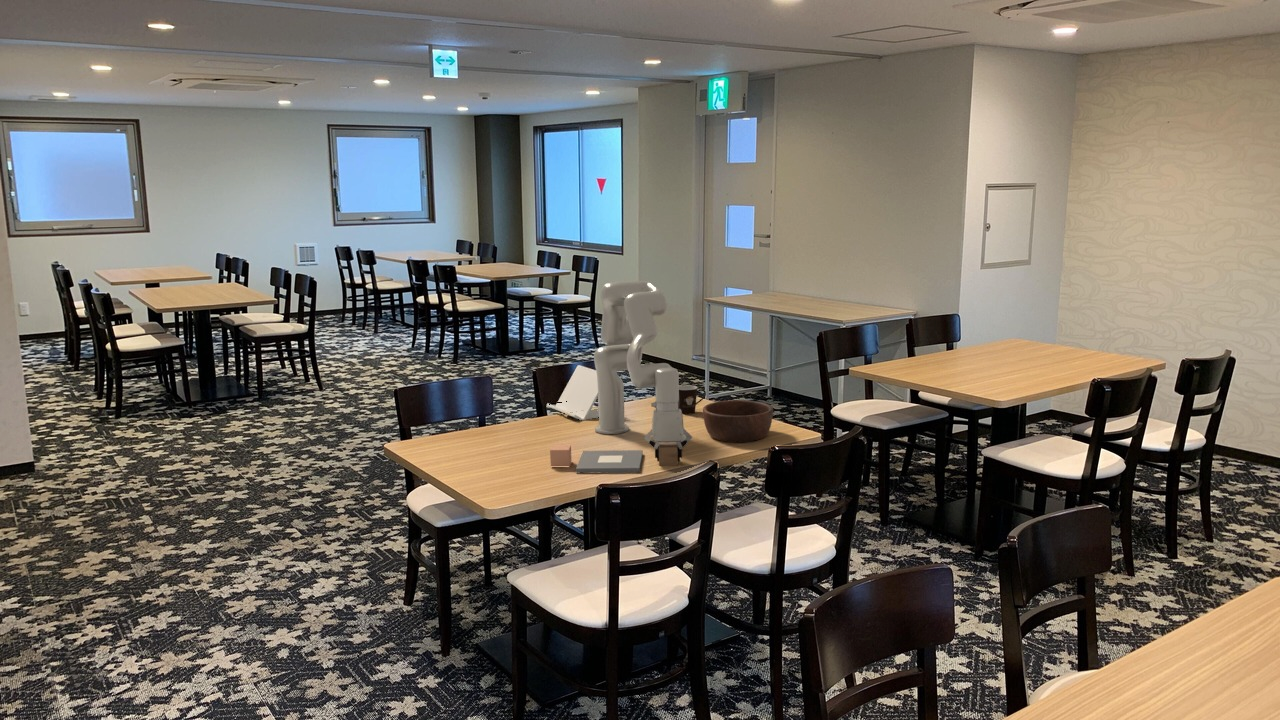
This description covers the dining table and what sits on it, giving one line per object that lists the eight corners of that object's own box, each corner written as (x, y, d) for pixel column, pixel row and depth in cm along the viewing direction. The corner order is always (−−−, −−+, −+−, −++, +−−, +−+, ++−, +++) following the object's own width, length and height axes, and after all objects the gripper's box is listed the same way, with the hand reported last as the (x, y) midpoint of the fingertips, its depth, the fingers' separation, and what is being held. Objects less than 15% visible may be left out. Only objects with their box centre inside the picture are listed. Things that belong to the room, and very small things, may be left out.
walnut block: (659, 460, 310) (659, 442, 309) (678, 460, 310) (677, 442, 308) (659, 465, 304) (658, 447, 303) (677, 465, 304) (677, 447, 303)
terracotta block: (553, 462, 311) (552, 445, 310) (571, 462, 311) (570, 444, 310) (550, 468, 305) (550, 450, 304) (569, 467, 305) (568, 449, 304)
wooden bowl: (787, 436, 335) (788, 408, 333) (733, 449, 321) (733, 420, 319) (741, 423, 355) (741, 396, 353) (688, 434, 341) (688, 406, 339)
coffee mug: (674, 414, 370) (674, 389, 368) (677, 409, 378) (676, 385, 376) (704, 415, 368) (703, 390, 366) (706, 410, 376) (706, 385, 374)
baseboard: (583, 455, 318) (583, 450, 318) (642, 454, 317) (642, 450, 317) (576, 473, 299) (576, 468, 298) (639, 472, 298) (639, 467, 297)
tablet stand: (585, 404, 393) (583, 363, 390) (615, 415, 372) (613, 373, 369) (545, 410, 384) (544, 369, 381) (574, 422, 363) (572, 379, 360)
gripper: (640, 409, 300) (641, 463, 303) (694, 408, 299) (695, 463, 302) (641, 403, 307) (642, 457, 311) (694, 403, 306) (695, 456, 310)
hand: (668, 459), depth 307 cm, fingers closed on walnut block, 6 cm apart
